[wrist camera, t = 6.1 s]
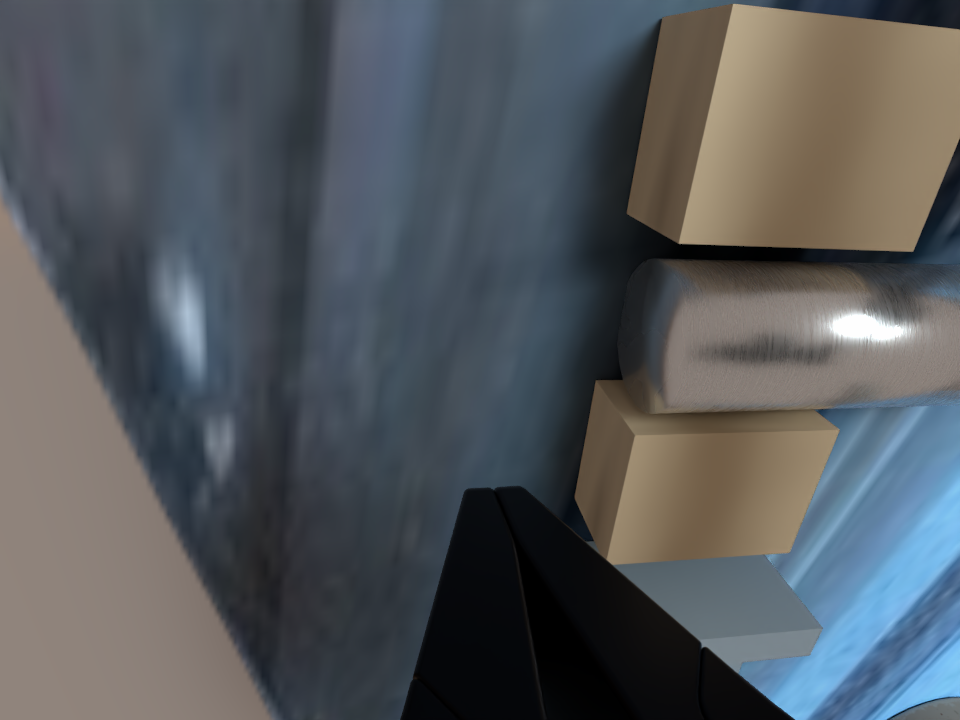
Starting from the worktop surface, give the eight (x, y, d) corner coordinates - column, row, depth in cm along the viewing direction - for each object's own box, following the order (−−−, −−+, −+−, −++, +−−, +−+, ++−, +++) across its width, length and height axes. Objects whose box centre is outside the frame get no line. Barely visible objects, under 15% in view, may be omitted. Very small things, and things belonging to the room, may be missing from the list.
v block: (746, 532, 21) (823, 628, 18) (695, 673, 25) (750, 778, 21) (538, 544, 20) (574, 651, 16) (515, 692, 24) (541, 808, 20)
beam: (886, 41, 14) (1002, 34, 12) (736, 490, 20) (789, 552, 18) (662, 17, 13) (733, 3, 11) (574, 498, 19) (605, 565, 17)
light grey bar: (1006, 245, 18) (1152, 306, 14) (939, 355, 20) (1053, 431, 16) (637, 235, 16) (706, 303, 12) (607, 359, 18) (660, 446, 14)
